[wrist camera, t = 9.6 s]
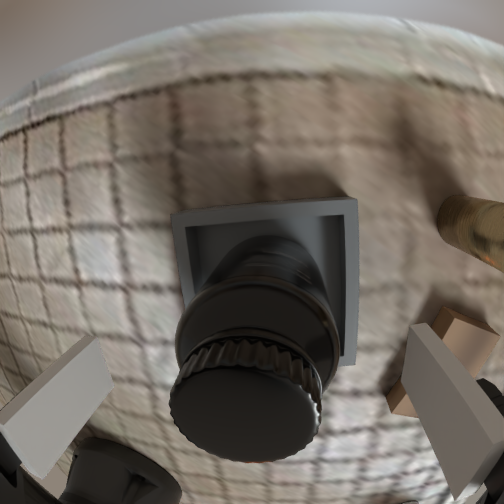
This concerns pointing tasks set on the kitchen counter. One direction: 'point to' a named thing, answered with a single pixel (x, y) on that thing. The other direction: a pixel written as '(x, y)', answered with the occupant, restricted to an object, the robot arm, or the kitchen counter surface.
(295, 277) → the supplement bottle
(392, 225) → the kitchen counter surface
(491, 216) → the cylinder
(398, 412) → the tan cardboard box
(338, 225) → the tray
